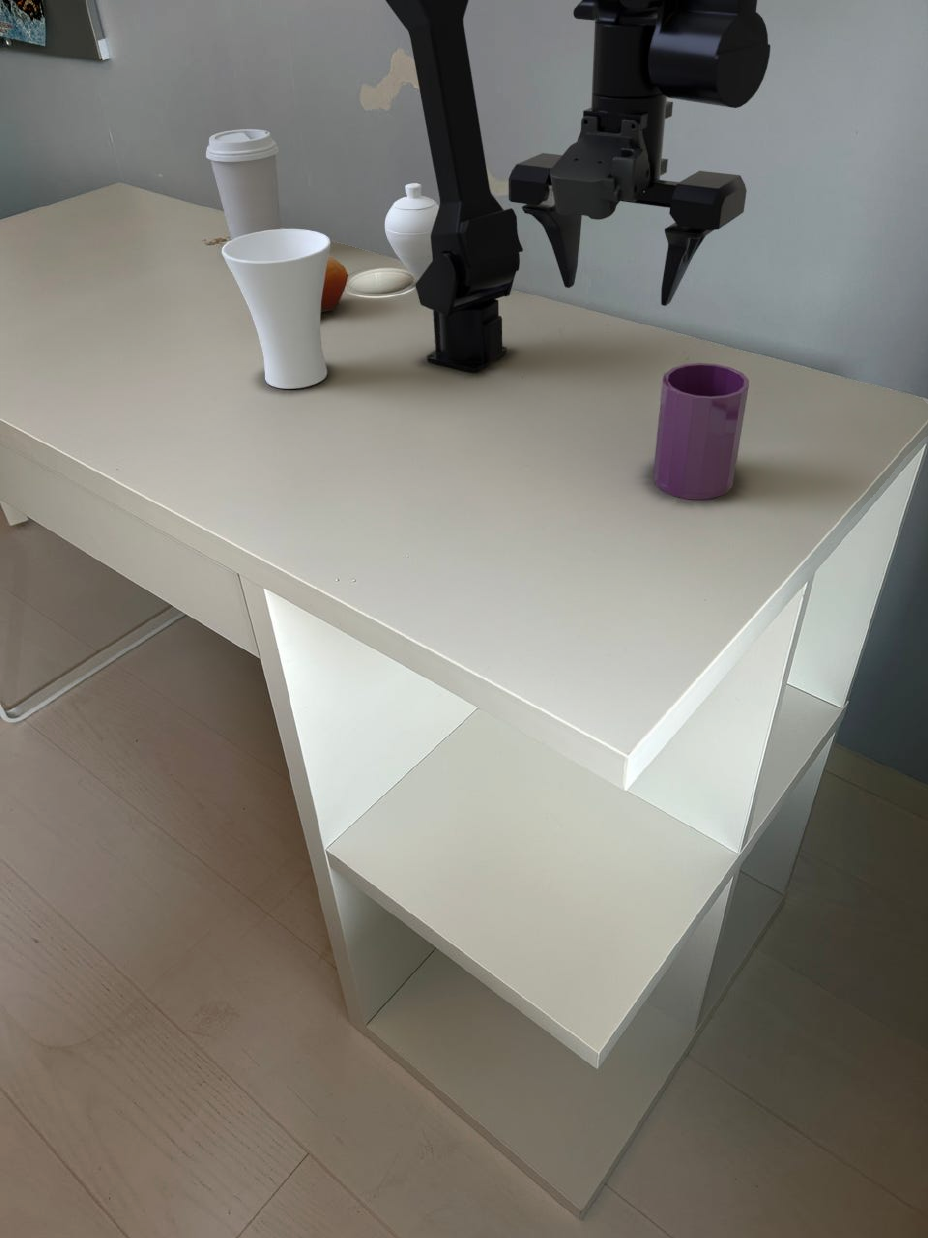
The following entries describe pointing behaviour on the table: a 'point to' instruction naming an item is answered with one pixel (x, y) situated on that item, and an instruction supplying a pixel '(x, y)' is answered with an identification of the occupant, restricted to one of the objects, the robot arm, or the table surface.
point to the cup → (284, 299)
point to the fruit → (333, 284)
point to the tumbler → (699, 430)
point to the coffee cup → (246, 179)
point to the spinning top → (412, 229)
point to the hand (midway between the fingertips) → (616, 295)
